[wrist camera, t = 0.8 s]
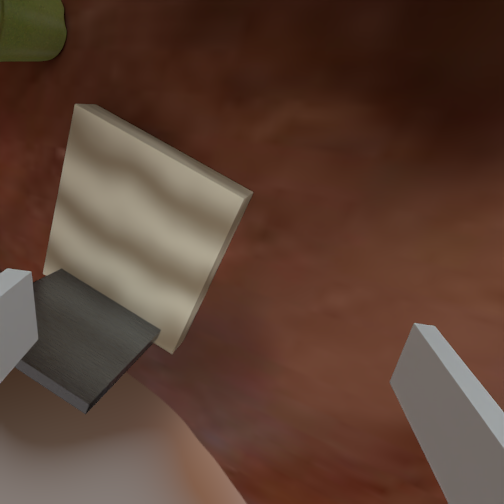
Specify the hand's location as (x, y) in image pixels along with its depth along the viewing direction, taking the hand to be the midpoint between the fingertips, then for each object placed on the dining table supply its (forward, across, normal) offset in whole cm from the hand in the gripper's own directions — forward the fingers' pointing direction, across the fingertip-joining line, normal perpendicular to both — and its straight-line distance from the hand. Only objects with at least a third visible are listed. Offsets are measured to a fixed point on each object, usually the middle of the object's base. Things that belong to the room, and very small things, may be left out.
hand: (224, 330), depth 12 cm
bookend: (+20, -11, -14) cm, 27 cm away
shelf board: (+22, -8, -6) cm, 24 cm away
